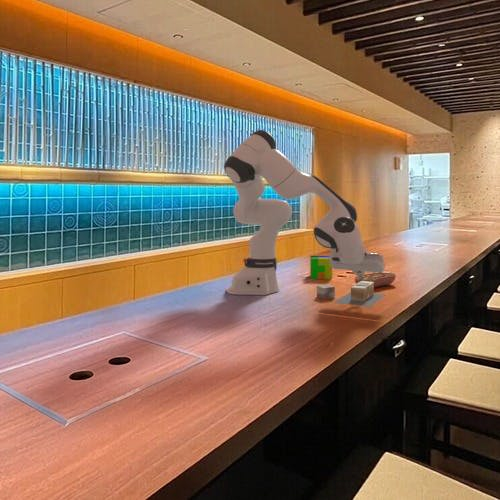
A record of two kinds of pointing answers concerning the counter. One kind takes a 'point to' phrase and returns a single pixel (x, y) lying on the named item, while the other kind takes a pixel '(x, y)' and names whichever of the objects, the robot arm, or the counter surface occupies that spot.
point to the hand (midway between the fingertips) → (360, 274)
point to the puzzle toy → (320, 267)
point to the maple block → (362, 291)
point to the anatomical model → (377, 278)
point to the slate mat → (367, 302)
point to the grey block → (325, 291)
